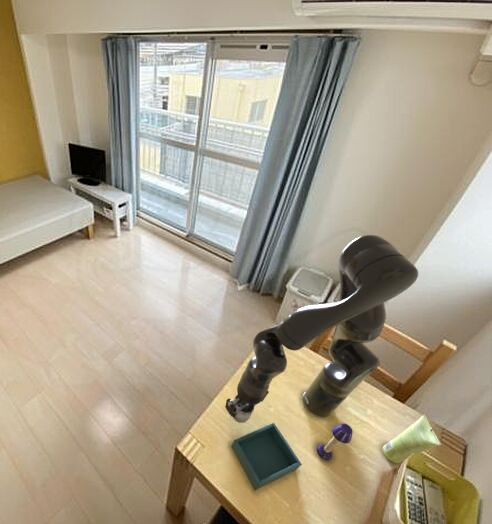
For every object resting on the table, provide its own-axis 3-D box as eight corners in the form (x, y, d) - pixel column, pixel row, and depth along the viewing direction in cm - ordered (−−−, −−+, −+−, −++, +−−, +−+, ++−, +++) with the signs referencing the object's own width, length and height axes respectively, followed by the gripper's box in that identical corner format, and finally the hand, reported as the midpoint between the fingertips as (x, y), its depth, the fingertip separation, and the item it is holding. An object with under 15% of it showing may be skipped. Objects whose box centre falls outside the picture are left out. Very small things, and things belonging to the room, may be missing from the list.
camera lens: (242, 428, 94) (247, 417, 89) (225, 413, 98) (230, 401, 93) (252, 414, 98) (259, 403, 93) (236, 400, 101) (241, 389, 96)
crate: (269, 429, 96) (273, 422, 93) (295, 470, 88) (302, 464, 84) (230, 446, 93) (234, 440, 89) (254, 491, 84) (259, 485, 80)
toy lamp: (311, 446, 93) (333, 424, 82) (322, 440, 94) (345, 417, 83) (324, 462, 89) (349, 441, 79) (335, 455, 91) (361, 434, 80)
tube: (406, 458, 90) (449, 433, 78) (399, 469, 88) (441, 445, 75) (386, 441, 94) (424, 414, 81) (378, 451, 92) (416, 425, 79)
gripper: (240, 405, 81) (228, 430, 92) (282, 388, 85) (266, 413, 96) (225, 381, 86) (215, 407, 97) (265, 365, 90) (252, 392, 101)
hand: (241, 410), depth 96 cm, fingers closed on camera lens, 6 cm apart
